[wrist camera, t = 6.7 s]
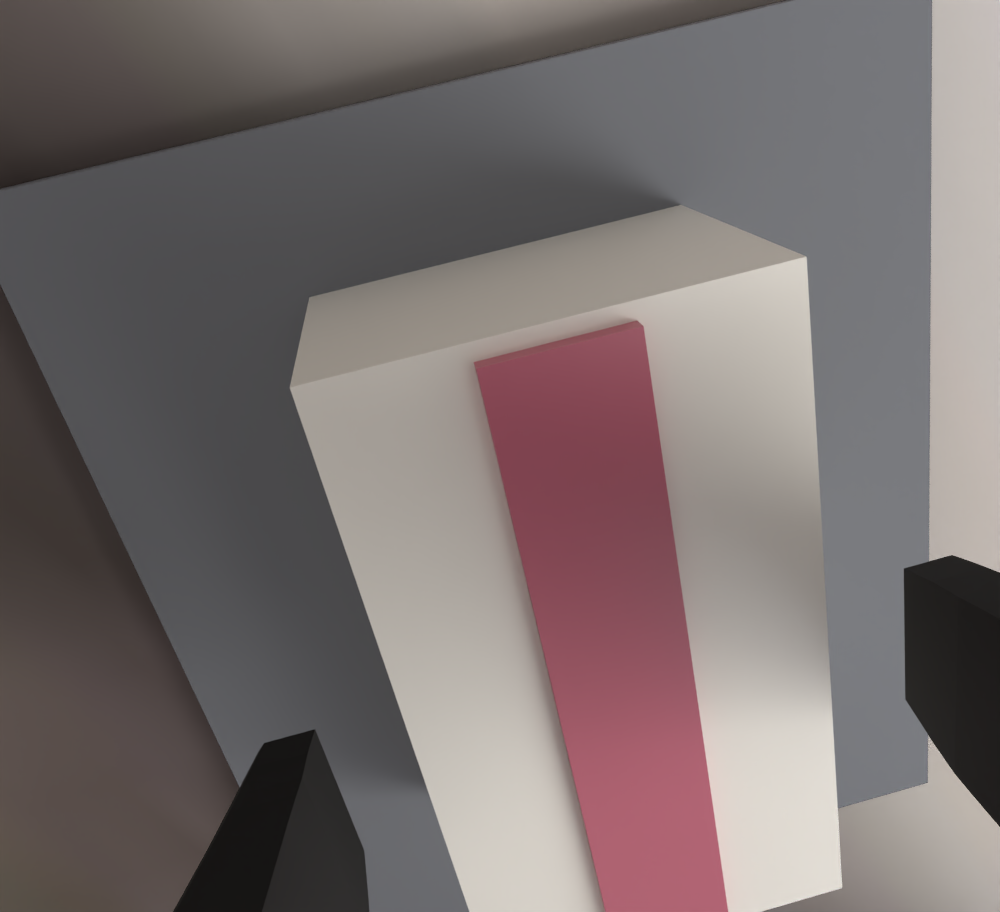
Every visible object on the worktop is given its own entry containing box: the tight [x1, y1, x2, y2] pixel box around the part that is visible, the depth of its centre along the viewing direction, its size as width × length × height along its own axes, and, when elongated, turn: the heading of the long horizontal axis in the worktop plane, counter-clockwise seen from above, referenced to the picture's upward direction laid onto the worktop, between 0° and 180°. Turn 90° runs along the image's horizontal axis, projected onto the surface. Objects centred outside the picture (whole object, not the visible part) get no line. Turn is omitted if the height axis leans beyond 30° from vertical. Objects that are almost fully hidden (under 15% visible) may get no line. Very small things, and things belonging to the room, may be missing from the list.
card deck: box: [290, 205, 842, 912], centre depth 11 cm, size 5×9×4 cm, turn 12°
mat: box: [0, 0, 932, 912], centre depth 14 cm, size 14×12×1 cm
